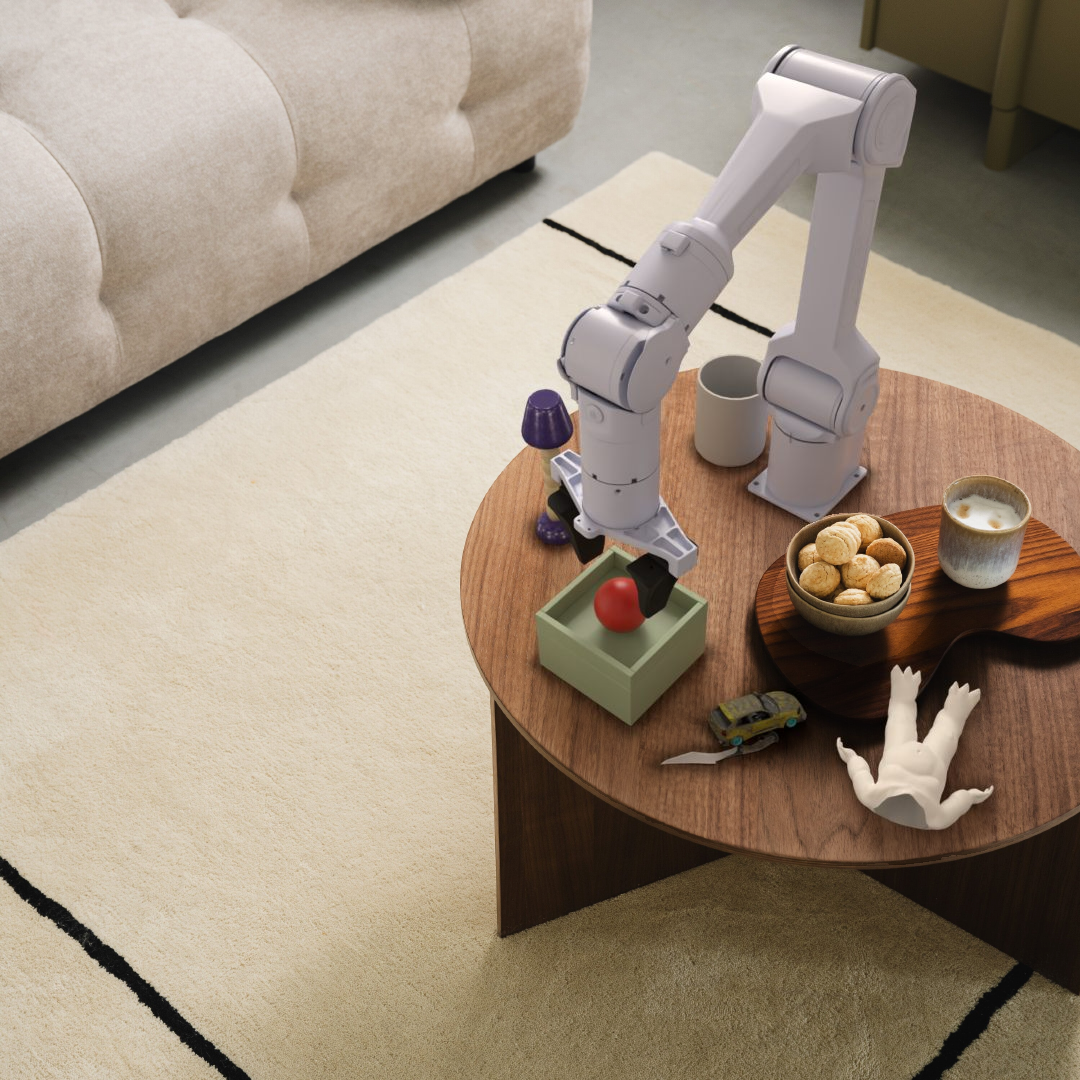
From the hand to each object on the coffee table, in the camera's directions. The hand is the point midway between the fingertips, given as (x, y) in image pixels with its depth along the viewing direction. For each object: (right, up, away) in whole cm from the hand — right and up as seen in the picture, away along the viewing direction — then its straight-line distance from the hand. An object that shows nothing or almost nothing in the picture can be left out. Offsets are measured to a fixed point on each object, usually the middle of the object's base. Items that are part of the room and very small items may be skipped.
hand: (621, 583), depth 93 cm
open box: (+1, -7, +7) cm, 10 cm away
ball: (0, -2, +2) cm, 3 cm away
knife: (+9, -12, +2) cm, 15 cm away
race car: (+11, -12, +2) cm, 16 cm away
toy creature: (+25, -9, +1) cm, 27 cm away
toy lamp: (-5, +4, +19) cm, 20 cm away
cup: (+13, +14, +27) cm, 33 cm away
